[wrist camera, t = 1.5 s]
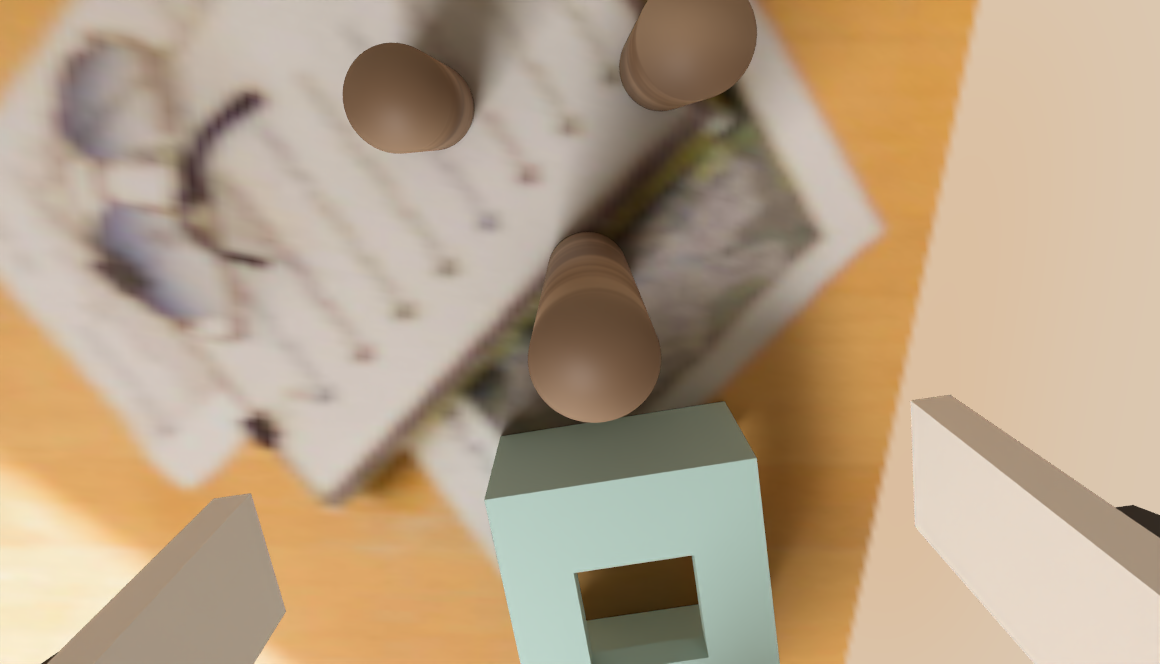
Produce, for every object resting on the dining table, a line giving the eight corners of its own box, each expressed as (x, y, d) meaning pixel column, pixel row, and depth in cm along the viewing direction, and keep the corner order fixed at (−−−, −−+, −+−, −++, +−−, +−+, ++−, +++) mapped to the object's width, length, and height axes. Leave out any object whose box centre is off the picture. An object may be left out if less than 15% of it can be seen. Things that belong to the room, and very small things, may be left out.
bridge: (500, 436, 38) (484, 499, 32) (724, 401, 38) (756, 458, 31) (546, 656, 42) (541, 755, 35) (751, 626, 42) (786, 721, 35)
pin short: (380, 69, 34) (330, 52, 27) (464, 54, 33) (436, 34, 27) (399, 156, 35) (357, 161, 28) (481, 142, 34) (458, 143, 28)
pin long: (541, 238, 36) (516, 307, 21) (620, 225, 36) (651, 285, 21) (555, 316, 37) (540, 431, 22) (632, 303, 37) (669, 411, 22)
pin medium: (613, 28, 33) (628, -18, 24) (699, 12, 33) (750, -40, 23) (626, 117, 34) (645, 109, 25) (709, 103, 34) (762, 88, 24)
